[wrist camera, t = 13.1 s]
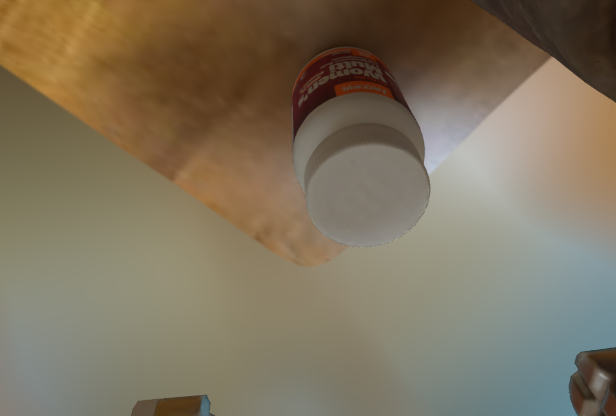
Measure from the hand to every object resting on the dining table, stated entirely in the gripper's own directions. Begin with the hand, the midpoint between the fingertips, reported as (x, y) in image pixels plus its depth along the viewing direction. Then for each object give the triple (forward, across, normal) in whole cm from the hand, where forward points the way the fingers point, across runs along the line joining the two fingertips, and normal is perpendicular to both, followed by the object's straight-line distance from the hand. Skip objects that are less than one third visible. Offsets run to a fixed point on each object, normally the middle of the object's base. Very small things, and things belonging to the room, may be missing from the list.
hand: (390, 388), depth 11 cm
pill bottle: (+22, -1, +2) cm, 22 cm away
